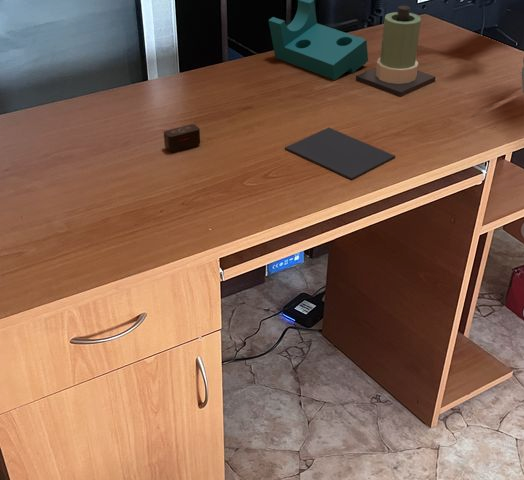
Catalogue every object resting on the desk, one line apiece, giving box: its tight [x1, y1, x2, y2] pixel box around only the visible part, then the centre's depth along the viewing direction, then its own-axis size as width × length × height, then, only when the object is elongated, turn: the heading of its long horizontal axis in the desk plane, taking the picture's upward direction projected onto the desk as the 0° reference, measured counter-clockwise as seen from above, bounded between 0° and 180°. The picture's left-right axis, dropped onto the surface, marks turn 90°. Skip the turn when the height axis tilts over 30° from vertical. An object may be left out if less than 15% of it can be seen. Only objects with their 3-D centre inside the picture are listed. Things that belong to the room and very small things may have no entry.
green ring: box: [379, 11, 422, 69], centre depth 162 cm, size 7×7×9 cm
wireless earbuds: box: [163, 123, 201, 153], centre depth 143 cm, size 5×7×3 cm, turn 122°
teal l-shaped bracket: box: [268, 0, 369, 81], centre depth 171 cm, size 18×11×10 cm, turn 44°
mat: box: [284, 127, 396, 181], centre depth 142 cm, size 16×12×1 cm
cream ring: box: [375, 57, 419, 84], centre depth 166 cm, size 8×8×3 cm
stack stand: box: [355, 5, 437, 98], centre depth 163 cm, size 12×12×15 cm
